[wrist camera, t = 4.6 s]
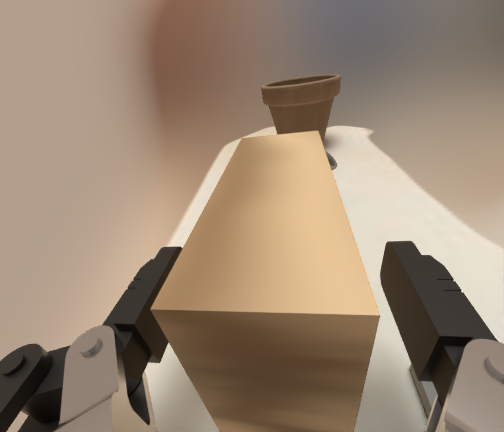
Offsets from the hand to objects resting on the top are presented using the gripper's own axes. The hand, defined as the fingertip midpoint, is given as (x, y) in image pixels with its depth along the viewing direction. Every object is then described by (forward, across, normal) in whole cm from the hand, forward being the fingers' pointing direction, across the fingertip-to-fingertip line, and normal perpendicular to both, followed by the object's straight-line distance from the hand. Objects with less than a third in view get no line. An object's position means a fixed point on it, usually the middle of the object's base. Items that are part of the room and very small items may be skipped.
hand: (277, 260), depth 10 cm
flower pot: (+34, -2, +7) cm, 35 cm away
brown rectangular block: (+2, 0, +7) cm, 7 cm away
